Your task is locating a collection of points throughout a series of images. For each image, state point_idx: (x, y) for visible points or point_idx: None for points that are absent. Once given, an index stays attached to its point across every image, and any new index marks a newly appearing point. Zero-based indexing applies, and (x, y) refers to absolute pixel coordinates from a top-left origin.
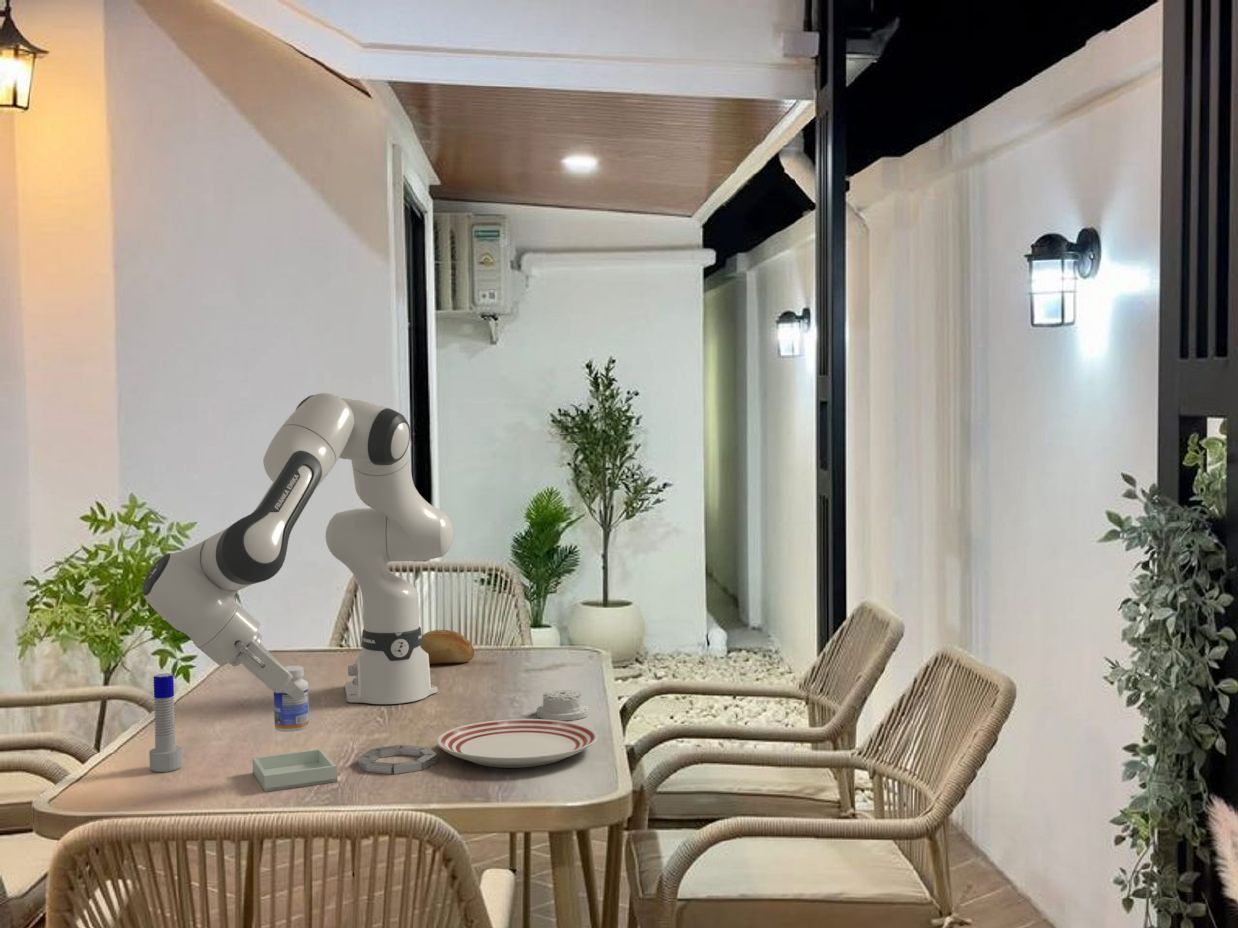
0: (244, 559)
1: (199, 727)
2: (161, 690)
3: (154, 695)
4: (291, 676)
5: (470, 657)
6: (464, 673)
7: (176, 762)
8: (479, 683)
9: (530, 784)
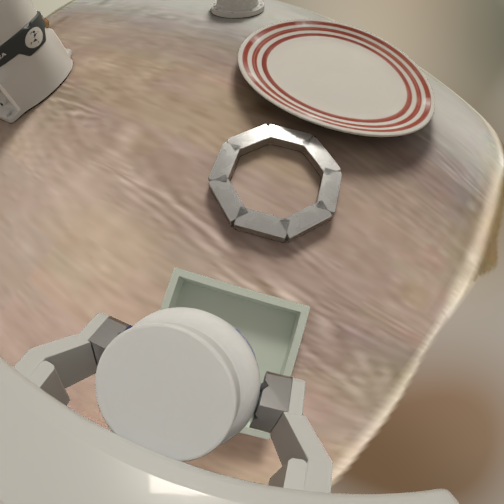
0: None
1: None
2: None
3: None
4: (452, 496)
5: (48, 24)
6: (60, 32)
7: None
8: (89, 26)
9: (450, 141)
